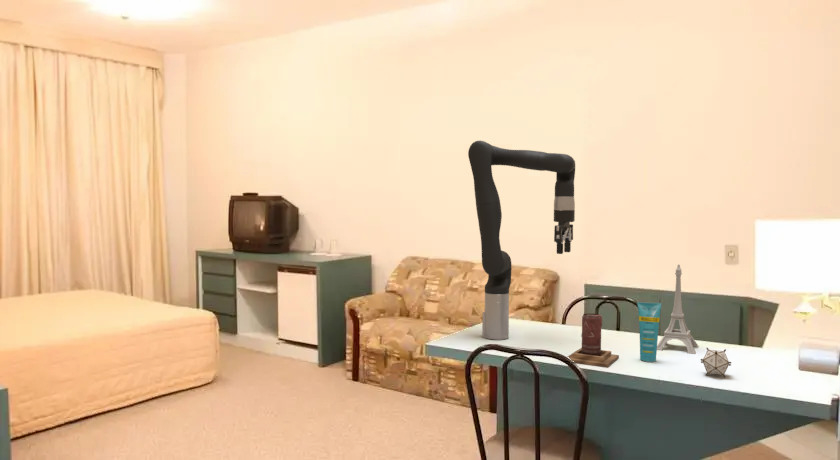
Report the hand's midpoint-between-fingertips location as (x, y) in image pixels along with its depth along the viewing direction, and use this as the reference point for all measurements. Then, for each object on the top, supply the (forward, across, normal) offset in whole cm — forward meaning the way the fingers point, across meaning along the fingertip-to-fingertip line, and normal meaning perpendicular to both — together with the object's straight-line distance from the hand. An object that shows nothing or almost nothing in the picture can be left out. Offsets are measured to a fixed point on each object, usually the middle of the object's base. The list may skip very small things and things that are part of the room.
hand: (563, 253), depth 234 cm
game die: (+33, +20, +54) cm, 67 cm away
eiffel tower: (+34, -12, +38) cm, 52 cm away
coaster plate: (+33, +21, +17) cm, 43 cm away
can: (+32, +21, +17) cm, 42 cm away
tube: (+33, +12, +33) cm, 48 cm away
